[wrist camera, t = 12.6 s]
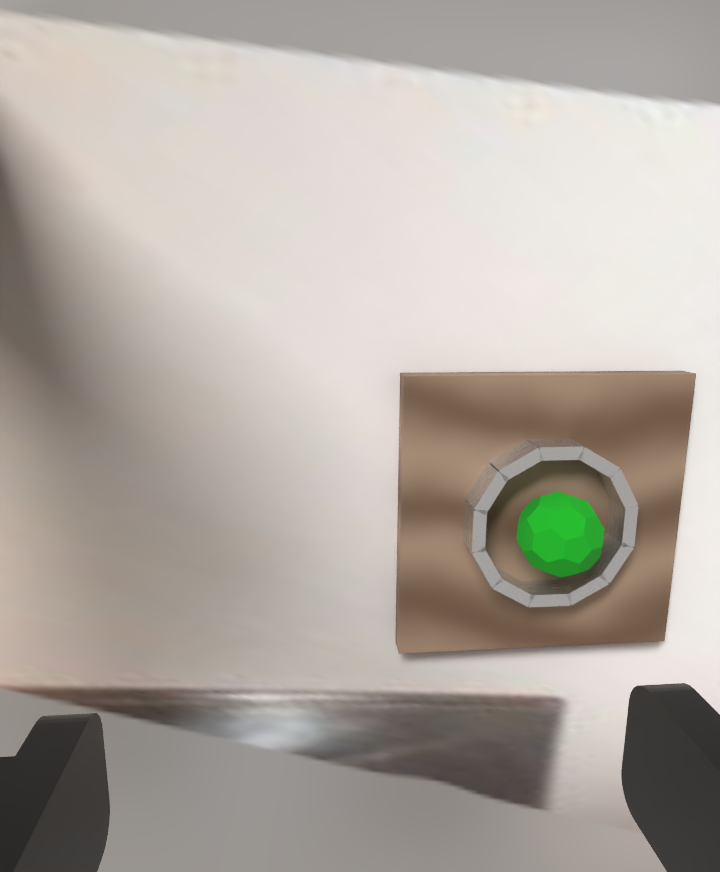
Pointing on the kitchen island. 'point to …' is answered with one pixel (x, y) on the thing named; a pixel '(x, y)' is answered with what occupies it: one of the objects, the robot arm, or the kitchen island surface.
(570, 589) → the steel ring
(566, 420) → the walnut board
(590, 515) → the polyhedron
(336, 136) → the kitchen island surface
